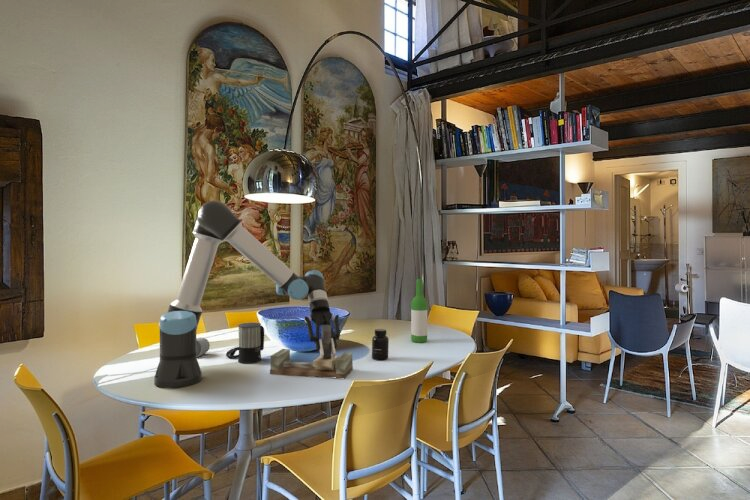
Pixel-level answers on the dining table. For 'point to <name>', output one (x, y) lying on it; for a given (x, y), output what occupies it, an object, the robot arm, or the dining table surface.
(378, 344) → the supplement bottle
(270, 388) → the dining table surface
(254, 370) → the dining table surface
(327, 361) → the carriage
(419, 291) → the wine bottle
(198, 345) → the ceramic mug
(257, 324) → the milk frother
